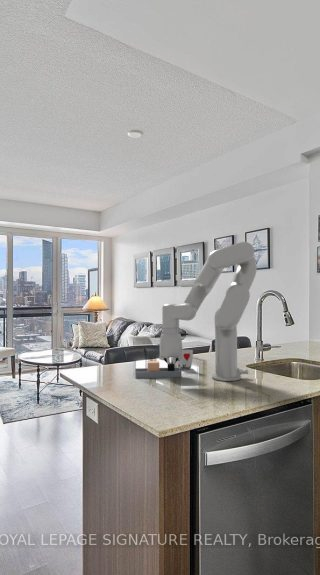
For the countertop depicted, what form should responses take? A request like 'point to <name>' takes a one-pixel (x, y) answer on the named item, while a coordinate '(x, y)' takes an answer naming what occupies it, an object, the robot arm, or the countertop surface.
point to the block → (153, 366)
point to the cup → (185, 360)
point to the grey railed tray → (156, 373)
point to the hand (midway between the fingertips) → (171, 372)
